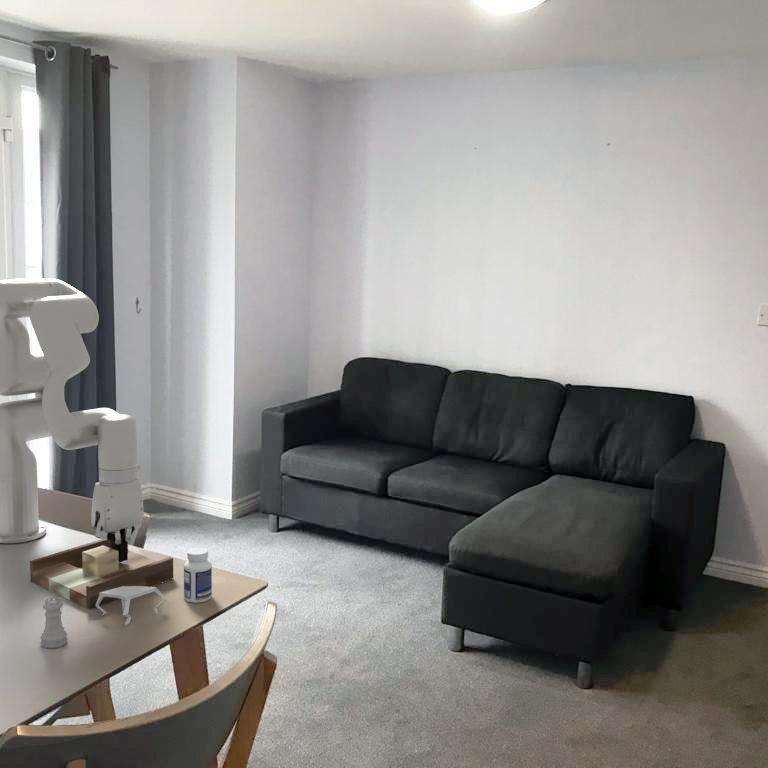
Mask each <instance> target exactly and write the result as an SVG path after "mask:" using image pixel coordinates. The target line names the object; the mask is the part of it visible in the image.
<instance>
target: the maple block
mask: <svg viewBox="0 0 768 768" xmlns="http://www.w3.org/2000/svg"><path fill="white" fill-rule="evenodd" d="M82 562H83V571H85V572H87V573H90V574H92V575H95V576H97V577H99V576H102V575H105V574H108V573H111V572H114V571H117V570H119V557H118V551H117V550H114V549H111V548H109V547H106V546H100V547H96V548H93V549H90V550H87V551H83V552H82Z"/></svg>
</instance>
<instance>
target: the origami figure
mask: <svg viewBox="0 0 768 768" xmlns="http://www.w3.org/2000/svg"><path fill="white" fill-rule="evenodd" d="M153 592H154V594H156V595H157V596H158V597H160V598H161V599H162V600H161V601H160V602H159V603H158V604H156V606H155V607H153V608H152V609H153V611H154V613H155V614H156V615H157V614H159V611H158V609H157V608H159V607H160V606H162V605H163V604H165V603H166V602H167V601H168V599H167V598H166V597H165V595H164V594H162V592H161V591H160V589H158V587H155V586H152V587H145V586H122V587H118V588H115V589H111V590H108V591H104V592H99V598H98V600H97V603H96V608H97V609H98V610H99V611H101V612H103V613H102V614H101V615H102V616H105V615H106V614H107V612H108V611H106V610H105V609H103V608H102V607H101V606H98V605H99V604H100V602H101V600H102V599H103V598H104V597H105V596H106V597H114V598H120V599H119V600H121V605H122V608H121V611H122V615H123V616H124V617H126V620H125V622H124V625H126V626H127V625H128V624H130V621H131V618H132V615H130V613H129V611H130V610H129V609H130V605H131V600H132V599H135V598H139V597H142V596H145V595H147V594H150V593H153ZM102 616H101V617H102Z"/></svg>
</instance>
